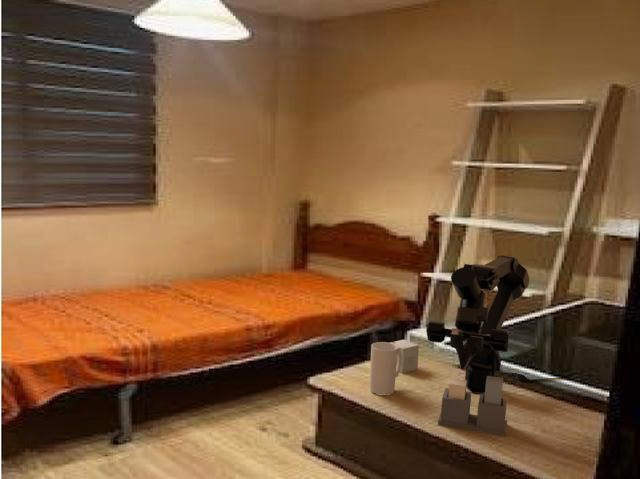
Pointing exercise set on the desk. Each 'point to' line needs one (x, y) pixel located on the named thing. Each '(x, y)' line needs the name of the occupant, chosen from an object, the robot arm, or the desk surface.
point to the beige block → (457, 388)
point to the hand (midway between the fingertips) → (462, 369)
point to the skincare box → (408, 355)
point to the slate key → (493, 390)
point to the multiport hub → (519, 377)
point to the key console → (484, 421)
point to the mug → (384, 367)
